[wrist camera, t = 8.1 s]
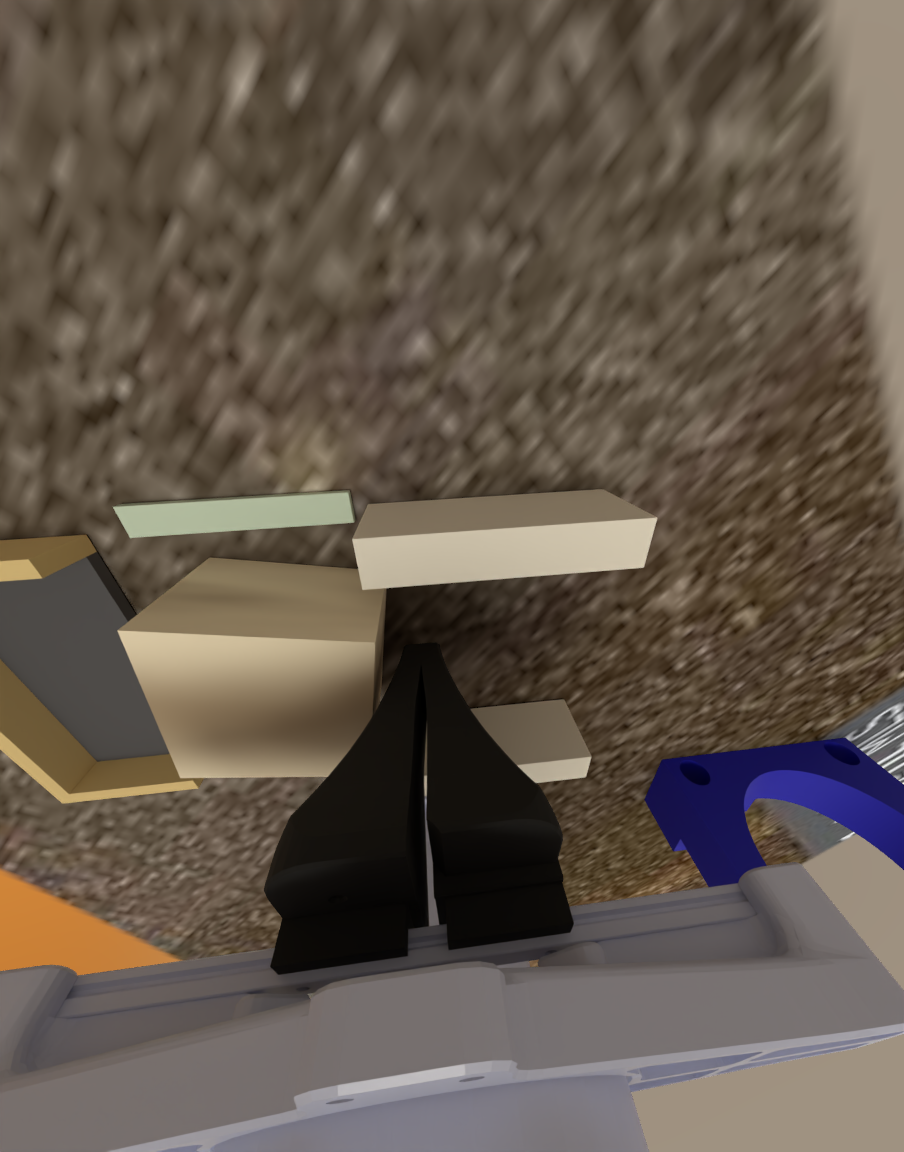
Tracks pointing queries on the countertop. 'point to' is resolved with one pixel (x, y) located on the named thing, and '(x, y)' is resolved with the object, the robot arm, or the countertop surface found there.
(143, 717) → the open-sided tray
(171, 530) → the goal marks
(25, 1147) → the robot arm
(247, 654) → the beech block
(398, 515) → the cream parallel guide rails
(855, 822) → the blue arch block
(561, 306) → the countertop surface
